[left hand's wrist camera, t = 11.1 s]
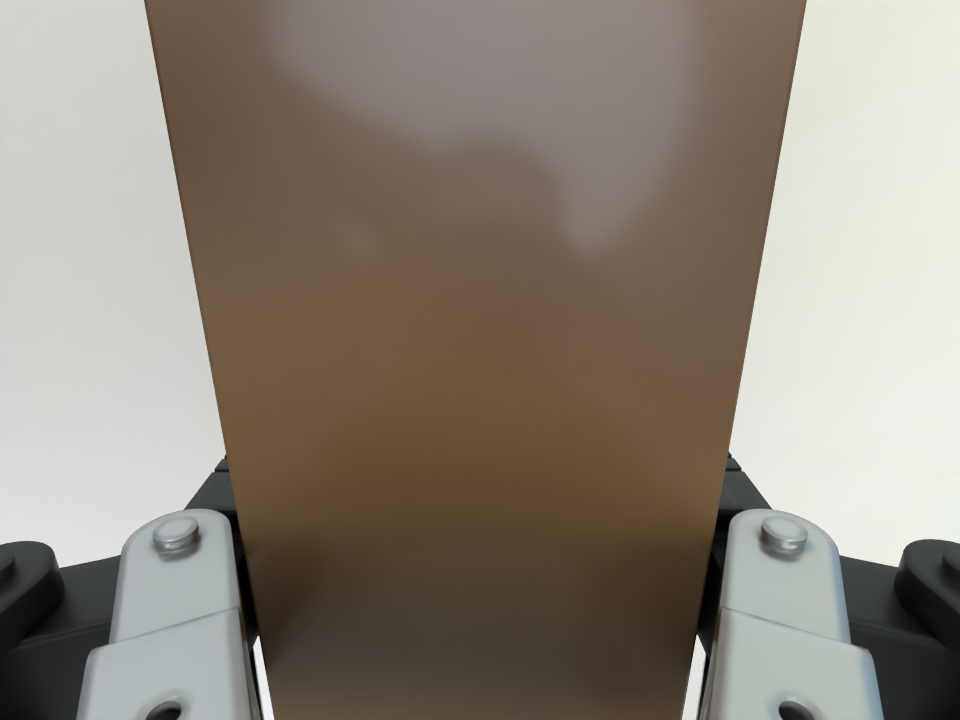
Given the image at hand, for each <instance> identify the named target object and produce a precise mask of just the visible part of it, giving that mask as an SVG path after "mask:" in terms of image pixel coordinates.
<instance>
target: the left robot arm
mask: <svg viewBox="0 0 960 720" xmlns="http://www.w3.org/2000/svg"><path fill="white" fill-rule="evenodd" d="M696 635H698V636H699V639H700V641H701V643H702V646H703V648H704V650H705V653H706V654H705V660H704V665H703V671H702V679H701V686H700V693H699V700H698V707H697V715H696V720H960V544H959V543H955V542H950V541H944V540H934V539H926V540H918V541H915V542H912V543H910V544H909V545H907V546H906V547H905V549H904V551H903V554H902V557H901V561H900V564H899V567H893V566H888V565H883V564H878V563H873V562H868V561H864V560H859V559H854V558H849V557H845V556H841V555H839V552H838V548H837V546H836V544H835V542H834V541H833V540H832V538H831V537H830V536H829V535H828V534H827V533H826V532H825V531H823V530H822V529H821V528H819V527H818V526H816V525H815V524H813V523H811V522H810V521H808V520H805V519H803V518H801V517H799V516H796V515H793V514H790V513H787V512H783V511H778V510H772V508H771V507H770V506H769V504H768V503H767V502H766V500H765V499H764V498H763V496H762V495H761V494H760V492H759V491H758V490H757V488H756V487H755V486H754V484H753V483H752V482H751V480H750V479H749V478H748V476H747V475H746V474H745V472H742V471H741V467H740V466H739V464H738V463H737V462H736V460H735V459H734V458H732V455H731V454H730V452H729V451H728V456H727V462H726V468H725V473H724V479H723V485H722V491H721V496H720V502H719V508H718V514H717V519H716V525H715V531H714V537H713V542H712V548H711V554H710V560H709V565H708V571H707V577H706V583H705V588H704V594H703V600H702V606H701V611H700V617H699V623H698V629H697V634H696ZM257 636H259V631H258V626H257V620H256V615H255V609H254V604H253V598H252V593H251V587H250V582H249V576H248V571H247V565H246V560H245V554H244V549H243V543H242V538H241V532H240V527H239V521H238V516H237V510H236V505H235V499H234V494H233V488H232V482H231V477H230V471H229V466H228V460H227V455H225V459H222V460H221V461H220V463H219V464H218V465H217V467H216V468H215V472H212V473H211V475H210V476H209V477H208V479H207V480H206V481H205V483H204V484H203V485H202V486H201V488H200V489H199V490H198V492H197V493H196V494H195V496H194V497H193V498H192V500H191V501H190V502H189V504H188V505H187V506H186V508H185V509H184V510H182V511H177V512H173V513H170V514H167V515H164V516H161V517H159V518H157V519H155V520H152V521H150V522H149V523H147V524H145V525H144V526H142V527H141V528H139V529H138V530H137V531H135V532H134V533H133V534H132V535H131V536H130V537H129V538H128V540H127V541H126V542H125V544H124V546H123V548H122V552H121V555H118V556H115V557H111V558H107V559H102V560H97V561H92V562H88V563H83V564H78V565H73V566H68V567H63V568H59V566H58V563H57V560H56V557H55V554H54V552H53V550H52V548H51V547H49V546H48V545H46V544H44V543H40V542H35V541H20V542H12V543H6V544H2V545H0V720H264V714H263V707H262V700H261V693H260V686H259V678H258V671H257V665H256V659H255V654H254V649H253V646H254V643H255V641H256V639H257Z"/></svg>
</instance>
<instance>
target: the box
mask: <svg viewBox="0 0 960 720" xmlns="http://www.w3.org/2000/svg"><path fill="white" fill-rule="evenodd" d="M806 1H807V0H144V2H145V8H146V14H147V19H148V25H149V30H150V36H151V41H152V47H153V52H154V58H155V63H156V69H157V74H158V80H159V85H160V91H161V96H162V102H163V107H164V113H165V118H166V124H167V129H168V135H169V140H170V146H171V151H172V157H173V162H174V168H175V174H176V179H177V185H178V190H179V196H180V201H181V207H182V212H183V218H184V223H185V229H186V234H187V240H188V245H189V251H190V256H191V262H192V267H193V273H194V278H195V284H196V289H197V295H198V300H199V306H200V311H201V317H202V322H203V328H204V334H205V339H206V345H207V350H208V356H209V361H210V367H211V372H212V378H213V383H214V389H215V394H216V400H217V405H218V411H219V416H220V422H221V427H222V433H223V438H224V444H225V449H226V455H227V460H228V466H229V471H230V477H231V482H232V488H233V494H234V499H235V505H236V510H237V516H238V521H239V527H240V532H241V538H242V543H243V549H244V554H245V560H246V565H247V571H248V576H249V582H250V587H251V593H252V598H253V604H254V609H255V615H256V620H257V626H258V631H259V637H260V642H261V648H262V654H263V659H264V665H265V670H266V676H267V681H268V687H269V692H270V698H271V703H272V709H273V714H274V720H682V715H683V709H684V704H685V698H686V692H687V686H688V681H689V675H690V669H691V663H692V658H693V652H694V646H695V640H696V634H697V629H698V623H699V617H700V611H701V606H702V600H703V594H704V588H705V583H706V577H707V571H708V565H709V560H710V554H711V548H712V542H713V537H714V531H715V525H716V519H717V514H718V508H719V502H720V496H721V491H722V485H723V479H724V473H725V468H726V462H727V456H728V450H729V445H730V439H731V433H732V427H733V422H734V416H735V410H736V404H737V398H738V393H739V387H740V381H741V375H742V370H743V364H744V358H745V352H746V347H747V341H748V335H749V329H750V324H751V318H752V312H753V306H754V301H755V295H756V289H757V283H758V278H759V272H760V266H761V260H762V255H763V249H764V243H765V237H766V232H767V226H768V220H769V214H770V209H771V203H772V197H773V191H774V186H775V180H776V174H777V168H778V162H779V157H780V151H781V145H782V139H783V134H784V128H785V122H786V116H787V111H788V105H789V99H790V93H791V88H792V82H793V76H794V70H795V65H796V59H797V53H798V47H799V42H800V36H801V30H802V24H803V19H804V13H805V7H806Z"/></svg>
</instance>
